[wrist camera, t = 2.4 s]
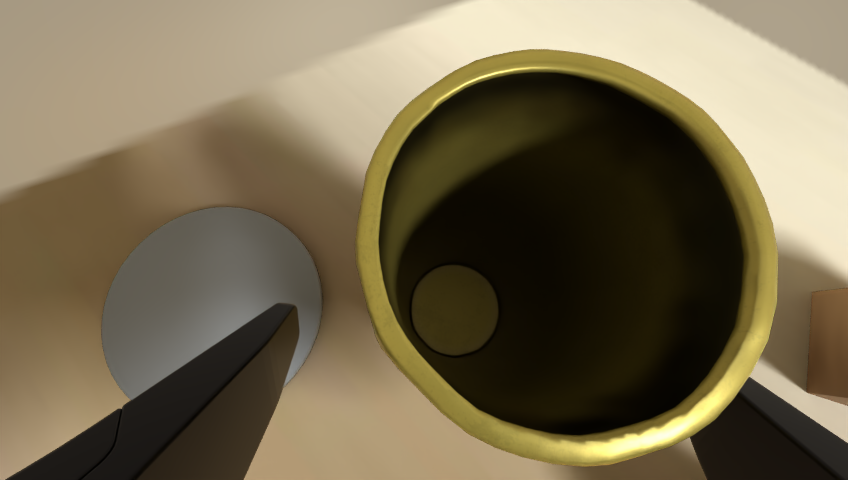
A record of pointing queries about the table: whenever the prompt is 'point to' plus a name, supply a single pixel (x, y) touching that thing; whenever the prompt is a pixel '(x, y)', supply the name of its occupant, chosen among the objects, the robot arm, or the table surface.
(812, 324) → the walnut block
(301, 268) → the mat
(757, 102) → the table surface
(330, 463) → the table surface
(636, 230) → the vase
